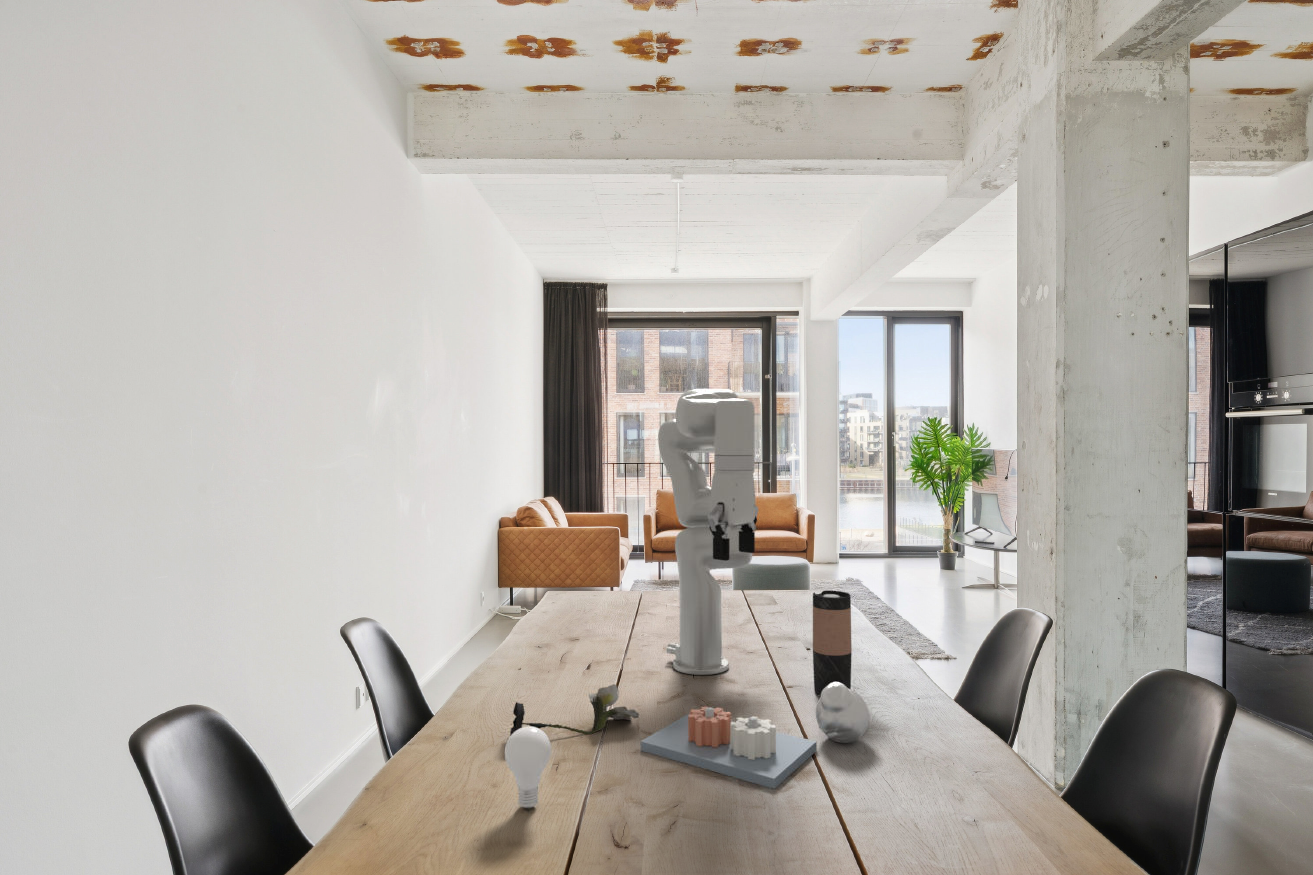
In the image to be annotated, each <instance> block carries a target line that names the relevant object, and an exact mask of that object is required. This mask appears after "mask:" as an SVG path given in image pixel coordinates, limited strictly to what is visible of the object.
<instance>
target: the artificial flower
mask: <svg viewBox="0 0 1313 875" xmlns="http://www.w3.org/2000/svg"><path fill="white" fill-rule="evenodd" d="M588 696H589V700H590V701H589V702H590V703H591V705H592V707H593V715H594V716H593V718H594V719H593V724H592V725H593V727H592V728H591V730H590V731H588V730H587V731H586V730H583V729H578V728H573V727H570V726H566V725H565V726H564V725H562V724H552V723H549V724H548V723H543V722H542V723H541V722H524V719H525V718H524V716H525V714H526V711H525V708H524V707H525V706H524V703H520V702H517V701H516V702H515V704H514V707H513V710H512V712H513V713H512V714H513V715H514V716H515V718H514V720H512V723H511V724H510V725H513V726H512V727H510V731H509V737H510V736H511V735H512V734H513V733H514V732H515V731H516V730H518V729H520V728H523V725H525V726H532V727H536V728H539V729H543V728H547V727H548V728H553V729H554V728H555V729H559V730H560V729H563V730H568V731H570V732H575V733H579V734H582V735H593V734H594V733H596V732H598V731H600V730H601V729H604V727H605V726H606V722H607V720H608V719H609V718H610V719H612V720H626V721H632V720H633V719H637V718H639V715H640V714H639V712H637V711H636V710H635V709H631V708H630V709H628V708H627V707H626V706H625V705H622V706H616V707H613V708H610V709H607V708H608V707H611V706H613V705H615V704H616V702H617V701H618V699H619V697H620V691H619V689H618V686H617V685H616V684H611V685H608V686H605V687H604V686H603V687H600V688H598V690H597V692H596V693H589V694H588Z"/></svg>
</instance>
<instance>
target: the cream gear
mask: <svg viewBox="0 0 1313 875" xmlns="http://www.w3.org/2000/svg"><path fill="white" fill-rule="evenodd" d="M749 718H757V728H749V722H748V719H749ZM735 719H736V721H733V722H731V724H730V748H731V750H734V755H736V756H741V755H743V756H744V757H748V759H751V760H755V757H756V758H760V757H763V758H765V759H767V758H770V757H771V753H776V732H777V730H776V728H777V726H776V725H775V724H773V722H772V721H773V720H770V719H768V718H767V719H762V718H759V717H758V716H751V717H746V718H743V717H738V718H737V717H736V718H735Z"/></svg>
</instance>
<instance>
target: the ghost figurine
mask: <svg viewBox="0 0 1313 875" xmlns="http://www.w3.org/2000/svg"><path fill="white" fill-rule="evenodd" d="M819 697H820V698H819V699H818V701H817V704H816V707H815V718H816V721H817V725H818V726H819V729H820V731H821V732H822V733H823V734H824V735H825V736H826V737H828V738H829V739H830V740H832V741H834V742H838V743H841V744H847V743H853V742H856V741H857V740H859V739H861V737H863V735H865V733H866V732H867V730H868V727H869V724H870V710H869V707H868V705H867V703H866V701H865V700H864V698H863V697H862V696H861V695H860V694H859V693H858V692H857V691H855V690H853V689H848V688H847V687H846V686H845V685H844V684H842V683H839V682H833V683H830V684H829V685H828V686H826V687H825V688H824V689H823V691H822V692H821V696H819Z"/></svg>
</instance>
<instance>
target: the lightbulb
mask: <svg viewBox="0 0 1313 875" xmlns="http://www.w3.org/2000/svg"><path fill="white" fill-rule="evenodd" d="M551 753H552V745H551V742H550V738H549V737H548V735H547V734H546V732H544V730H542V728H536V727H532V726H530V725H526V726H522V728H520V729H518V730H516V731H515V732H514V733H513V734H512V735H511V736H510V735H509V737H508V739H507V741H506V743H505V747H504V758H505V762H506V764H507V766H508V768H509V770H510V771H511V772H512V773H513V776H514V778H515V782H516V785H517V788H518V791H517V792H518V793H517V794H518V799H517V800H518V804H517V805H518V806H519V807H521V808H523V809H526V810H529V809H530V810H531V809H532V808H533V807H535V806H537V805H538V803H539V802H538V801H539V798H538V797H539V790H538V789H539V785H540V781H541V777H542V773H543V771H544V770H545V768H546V767H547V765H548V763H549V761H550V759H551Z"/></svg>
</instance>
